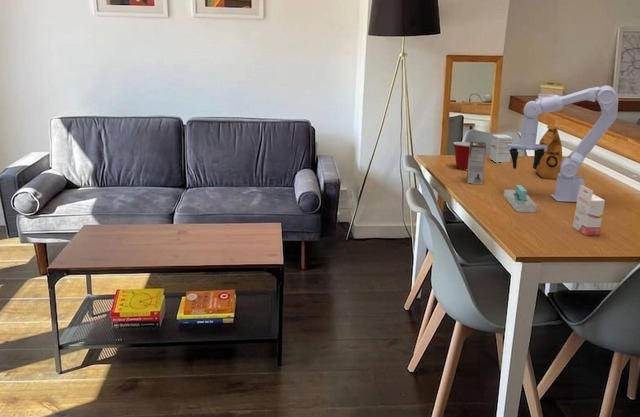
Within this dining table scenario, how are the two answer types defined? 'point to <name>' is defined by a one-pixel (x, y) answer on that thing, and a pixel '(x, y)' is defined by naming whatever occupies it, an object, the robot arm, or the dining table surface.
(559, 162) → the coffee package
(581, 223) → the ink cartridge box
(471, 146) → the coffee box
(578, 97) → the robot arm
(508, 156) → the supplement box
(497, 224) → the dining table surface
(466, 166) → the plastic cup
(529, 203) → the white slotted slab
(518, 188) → the teal rectangular plank
